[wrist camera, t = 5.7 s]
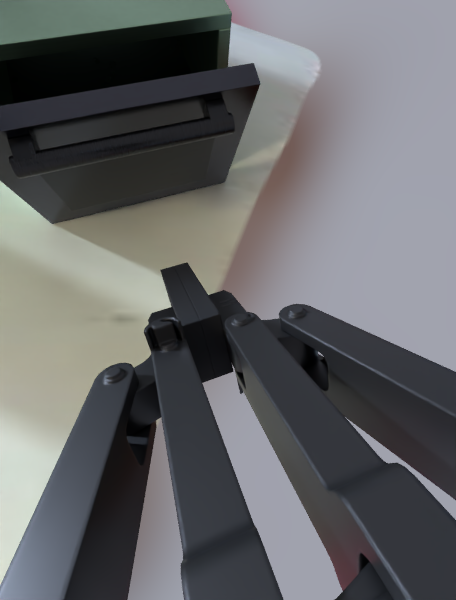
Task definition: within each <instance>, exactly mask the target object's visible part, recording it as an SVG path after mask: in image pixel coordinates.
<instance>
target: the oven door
mask: <svg viewBox="0 0 456 600" xmlns="http://www.w3.org/2000/svg"><path fill="white" fill-rule="evenodd" d="M259 86H260V81H259V78H258V75H257V72H256V69H255V66H254V63H251V64H245V65H239V66H233V67H227V68H221V69H216V70H210V71H204V72H198V73H192V74H186V75H180V76H174V77H168V78H162V79H156V80H150V81H145V82H139V83H133V84H127V85H121V86H115V87H109V88H103V89H97V90H91V91H85V92H80V93H74V94H68V95H62V96H56V97H50V98H44V99H38V100H32V101H26V102H20V103H14V104H9V105H3V106H0V181H1V182H3V183H4V184H5V185H6V186H7V187H9V188H10V189H11V190H12V191H13V192H15V193H16V194H17V195H18V196H19V197H21V198H22V199H23V200H24V201H25V202H27V203H28V204H29V205H30V206H31V207H33V208H34V209H35V210H36V211H37V212H38V213H40V214H41V215H42V216H43V217H44V218H46V219H47V220H48V221H49V222H50V223H52V224H54V223H58V222H62V221H66V220H70V219H74V218H79V217H83V216H87V215H91V214H95V213H99V212H103V211H107V210H112V209H116V208H120V207H124V206H128V205H132V204H136V203H141V202H145V201H149V200H153V199H157V198H161V197H165V196H170V195H174V194H178V193H182V192H186V191H190V190H194V189H198V188H203V187H207V186H211V185H215V184H219V183H223V182H225V180H226V178H227V175H228V172H229V169H230V167H231V164H232V161H233V158H234V155H235V153H236V150H237V147H238V144H239V141H240V139H241V136H242V133H243V130H244V128H245V125H246V122H247V119H248V116H249V114H250V111H251V108H252V105H253V103H254V100H255V97H256V94H257V91H258V89H259Z"/></svg>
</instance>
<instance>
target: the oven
mask: <svg viewBox="0 0 456 600" xmlns="http://www.w3.org/2000/svg"><path fill="white" fill-rule="evenodd" d="M231 16H232V13H231V11H230V9H229V7H228V5H227V4H226V2H225V0H0V106H3V105H9V104H14V103H20V102H26V101H32V100H38V99H44V98H50V97H56V96H62V95H68V94H74V93H80V92H85V91H91V90H97V89H103V88H109V87H115V86H121V85H127V84H133V83H139V82H145V81H150V80H156V79H162V78H168V77H174V76H180V75H186V74H192V73H198V72H204V71H210V70H216V69H221V68H227V67H228V55H229V41H230V28H231Z"/></svg>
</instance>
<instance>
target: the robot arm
mask: <svg viewBox="0 0 456 600" xmlns="http://www.w3.org/2000/svg"><path fill="white" fill-rule="evenodd" d="M161 274H162V277H163V280H164V283H165V287H166V290H167V293H168V296H169V300H170V303H171V306H172V307H171V308H167V309H164V310H161V311H158V312H154V313H152V314H151V316H150V317H149V319H148V322H149V324H148V325H147V327H146V328H145V330H144V334H145V336H146V339H147V342H148V345H149V347H150V350H151V356H150V357H149V358H148V359H147V360H146V361H145V362H143V363H142V364H140V365H138V366H137V367H135V368H134V367H133V366H132V365H131V364H128V363H119V364H115V365H112V366H110V367H108V368H106V369H105V370H103V371H102V372H101V373H100V374H99V375H98V376H97V378H96V379H95V381H94V383H93V385H92V387H91V390H90V392H89V394H88V396H87V398H86V400H85V403H84V405H83V407H82V409H81V411H80V413H79V416H78V418H77V420H76V422H75V424H74V426H73V429H72V431H71V433H70V435H69V437H68V440H67V442H66V444H65V446H64V448H63V450H62V453H61V455H60V457H59V459H58V461H57V463H56V466H55V468H54V470H53V472H52V474H51V477H50V479H49V481H48V483H47V485H46V487H45V490H44V492H43V494H42V496H41V498H40V500H39V503H38V505H37V507H36V509H35V511H34V513H33V516H32V518H31V520H30V522H29V524H28V527H27V529H26V531H25V533H24V535H23V537H22V540H21V542H20V544H19V546H18V548H17V550H16V553H15V555H14V557H13V559H12V561H11V563H10V566H9V568H8V570H7V572H6V574H5V577H4V579H3V581H2V583H1V585H0V600H127V599H128V593H129V587H130V580H131V575H132V569H133V563H134V557H135V551H136V545H137V539H138V533H139V527H140V521H141V515H142V509H143V503H144V497H145V491H146V486H147V480H148V474H149V468H150V462H151V456H152V449H153V444H154V438H155V432H156V420H157V419H159V418H160V417H162V423H163V430H164V436H165V442H166V449H167V455H168V461H169V467H170V474H171V480H172V486H173V492H174V499H175V505H176V511H177V517H178V524H179V530H180V536H181V542H182V549H183V561H182V563H181V579H182V587H183V595H184V600H283V597H282V594H281V592H280V589H279V587H278V584H277V581H276V578H275V576H274V573H273V570H272V567H271V565H270V562H269V559H268V557H267V554H266V551H265V549H264V546H263V543H262V541H261V538H260V535H259V533H258V531H257V528H256V527H255V526H254V523H253V521H252V518H251V515H250V513H249V510H248V507H247V505H246V502H245V499H244V496H243V494H242V491H241V488H240V485H239V483H238V480H237V477H236V474H235V472H234V469H233V466H232V464H231V461H230V458H229V455H228V453H227V450H226V447H225V445H224V442H223V439H222V436H221V434H220V431H219V428H218V425H217V423H216V420H215V417H214V415H213V412H212V409H211V406H210V403H209V401H208V398H207V395H206V392H205V390H204V387H203V384H202V383H203V382H206V381H208V380H211V379H214V378H217V377H220V376H222V375H225V374H228V373H231V372H233V368H232V365H233V366H234V368H235V372H236V376H237V381H238V385H239V389H240V394H241V393H243V391H244V393H245V395H246V397H247V399H248V401H249V403H250V405H251V407H252V409H253V410H254V412H255V414H256V416H257V418H258V420H259V422H260V424H261V426H262V428H263V430H264V432H265V434H266V435H267V437H268V439H269V441H270V443H271V445H272V447H273V449H274V451H275V453H276V455H277V456H278V458H279V460H280V462H281V464H282V466H283V468H284V470H285V472H286V474H287V475H288V478H289V479H290V481H291V483H292V485H293V487H294V489H295V491H296V493H297V495H298V497H299V499H300V500H301V502H302V504H303V506H304V508H305V510H306V512H307V514H308V516H309V518H310V520H311V521H312V523H313V525H314V527H315V529H316V531H317V533H318V535H319V537H320V539H321V541H322V543H323V544H324V546H325V548H326V550H327V552H328V554H329V556H330V558H331V561H332V563H333V566H334V568H335V571H336V574H337V577H338V580H339V583H340V585H341V587H342V590H343V592H342V593H341V594H340V595H339V596H338V597H337V598H336V599H335V600H456V520H455V519H454V518H453V517H452V516H451V515H450V514H449V512H448V511H447V510H446V509H445V508H444V507H443V506H442V505H441V504H440V503H439V502H438V501H437V500H436V499H435V497H434V496H433V495H432V494H431V493H430V492H429V491H428V490H427V489H426V488H425V486H424V485H423V484H422V483H421V482H420V481H419V480H418V479H417V478H416V477H415V476H414V475H413V474H412V473H411V472H410V471H409V470H408V469H407V468H405V467H404V466H402V465H400V464H398V463H390V464H388V463H386V462H384V461H383V460H382V459H381V458H380V457H379V456H378V455H377V454H376V453H375V451H374V450H373V449H372V448H371V447H370V446H369V444H368V443H367V442H366V441H365V440H364V439H363V437H362V436H361V435H360V434H359V433H358V432H357V431H356V429H355V428H354V427H353V426H352V425H351V424H350V422H349V421H348V420H347V419H349V420H350V421H352V422H353V423H354V424H356V425H357V426H358V427H359V428H361V429H362V430H363V431H365V432H366V433H367V434H369V435H370V436H371V437H373V438H374V439H375V440H377V441H378V442H379V443H381V444H382V445H383V446H385V447H386V448H387V449H389V450H390V451H391V452H393V453H394V454H395V455H397V456H398V457H399V458H401V459H402V460H403V461H405V462H406V463H407V464H409V465H410V466H411V467H413V468H414V469H415V470H417V471H418V472H419V473H421V474H422V475H423V476H424V477H426V478H427V479H429V480H430V481H431V482H433V483H434V484H435V485H436V486H438V487H439V488H440V489H442V490H443V491H444V492H446V493H447V494H448V495H450V496H451V497H453V498H454V499H455V500H456V372H454V371H452V370H450V369H448V368H446V367H443V366H441V365H439V364H437V363H434V362H432V361H430V360H427V359H426V358H423V357H421V356H419V355H416V354H415V353H412V352H410V351H408V350H406V349H404V348H401V347H399V346H397V345H394V344H392V343H390V342H388V341H386V340H384V339H381V338H379V337H377V336H375V335H372V334H370V333H368V332H366V331H364V330H362V329H359V328H357V327H355V326H353V325H350V324H348V323H346V322H344V321H342V320H339V319H337V318H335V317H333V316H331V315H328V314H326V313H324V312H322V311H320V310H317V309H315V308H313V307H311V306H308V305H304V304H293V305H290V306H287V307H285V308H283V309H282V310H281V311H280V313H279V318H280V319H272V320H261V319H260V318H259V317H258V316H257V315H256V314H254V313H250V312H246V311H245V309H244V308H243V307H242V306H241V304H240V303H239V302H238V301H237V300H236V298H235V297H234V296H233V295H232V294H231V293H229V292H227V291H224V290H223V291H220V292H217V293H213V294H210V295H208V294H207V293H206V291H205V290H204V288H203V286H202V285H201V283H200V282H199V280H198V279H197V277H196V275H195V274H194V272H193V271H192V269H191V268H190V266H189V265H188V263H184V264H180V265H177V266H173V267H170V268H166V269H162V270H161ZM318 352H320V353H321V354H322V355H323V356H324V357H323V356H321V355H319V354H318ZM344 416H345V417H346V418H347V419H346V418H345V417H344Z"/></svg>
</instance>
